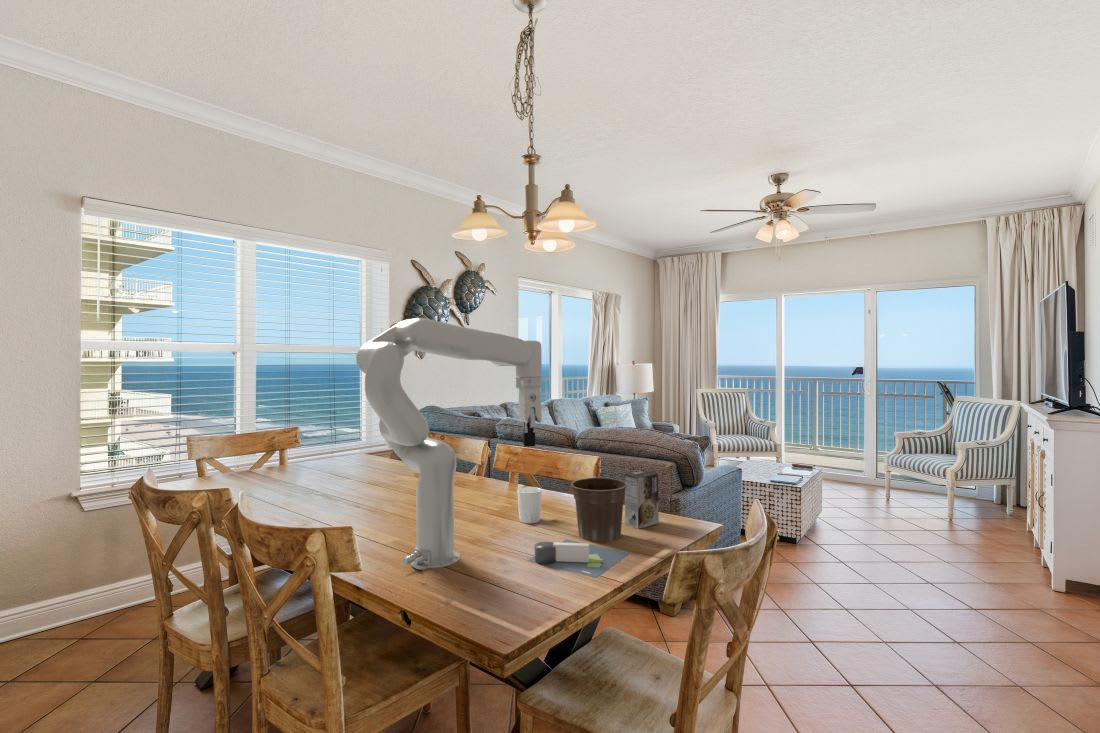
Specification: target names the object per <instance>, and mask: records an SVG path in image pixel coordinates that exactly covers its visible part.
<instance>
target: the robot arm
mask: <svg viewBox="0 0 1100 733" xmlns="http://www.w3.org/2000/svg"><path fill="white" fill-rule="evenodd" d="M542 351H543V350H542V343H541V342H540V341H538V340H524V339H522V338H518V337H515V336H510V335H506V334H500V333H495V332H490V331H484V330H479V329H476V328H469V327H464V326H460V325H455V324H450V323H446V322H442V321H438V320H434V319H430V318H424V317H415V318H408V319H404V320H402V321H399V322H398V323H396V324H394V325H393V326H391V327H390V328H388V329H387V330H385V331H383V332H382V333H380V334H379V335H377V336H375V337H374V338H372V339H370V340H369V341H367V342H366V343H364V344H362V346H361V347H360V348H359V349H358V350H357V352H356V356H355V357H356V358H355V361H356V365H357V367H358V369H359V370H360V371H361V372H363V373H364V374H365V378H364V392H365V396H366V399H367V402H368V403H369V405H370V406H371V408H372V410H374V412H375V413H376V415H377V416H378V417H379V422H378V423H379V424H378V427H379V431H380V434H381V436H382V438H383V439H384V441H385V442H386V444H387V445H388V446H389V447H390V448H391V449H392V451H393V452H394V453H395V454H396V456H397V457H398V458H399V459H400V460H401V462H402V463H404V465H405V466H406V467H407V468H409V469H410V470H412V471H413V472H416V473H419V474H418V481H417V485H416V489H415V491H416V492H415V506H416V507H415V508H416V509H415V510H416V511H415V512H416V513H415V515H416V516H415V518H416V523H415V524H416V546H415V547H413V552H412V553H411V554H410V555H406V556H404V557H402V560H401V561H402V564H403V566H407V565H411V566H412V567H413V568H414V569H416V570H419V571H425V570H427V569H431V568H432V569H435V568H443V567H448V566H450V565H454V564H455V563H456V562H458V561H459V560H460V559H461V554H460V553H459V552H458V551H455V526H454V525H455V516H454V515H455V511H454V510H455V507H454V506H455V504H454V503H455V501H454V498H455V497H454V496H455V494H454V493H455V492H454V487H455V477H456V470H457V465H458V464H457V463H458V462H457V460H458V459H457V455H456V451H455V450H454V449H453V448H452V446H451V445H450V444H448V443H447V442H445V441H443V440H439V439H435V438H430V437H429V434H430V426H429V423H428V421H427V419H426V416H424V414H422V412H421V411H420V410H419V408H418V407H417V406H416V405H415V404H414V402H413V400H411V398H410V397H409V396H408V394H407V393H406V391H405V389H404V388H403V386H402V383H401V375H402V370H403V368H404V363H405V357H406V356H408V355H409V354H410V353H411V352H422V353H427V354H433V355H438V356H444V357H448V358H453V359H459V360H467V361H487V362H490V363H492V364H493V365H495V366H499V367H515V389H518V390H519V391H518V416H519V418H518V419H520V420H521V421H522V429H523V432H522V436H523V437H522V441H523V442H522V445H523V446H524V447H536V422H537V423H541V422H542V400H541V398H542V397H541V390H540V389H542V388H543V384H542V383H543V377H542V375H543V373H542V372H543V371H542V369H543V366H542V365H543V364H542V362H543V361H542V356H543V355H542Z"/></svg>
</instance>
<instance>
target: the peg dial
mask: <svg viewBox="0 0 1100 733" xmlns="http://www.w3.org/2000/svg"><path fill="white" fill-rule="evenodd" d="M589 544H590V543H589V542H585V543H584V542H581V543H563V542H562V541H559V542H558V541H557V542H556V541H555V542H552V541H541V542H539V541H538V542H536V543H535V544H534V557H535V561H536V562H538V563H543V564H548V563H553V562H555V561H565V562H589V561H591V562H603V559H591V558H589ZM538 563H537V564H538Z"/></svg>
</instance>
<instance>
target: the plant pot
mask: <svg viewBox="0 0 1100 733" xmlns="http://www.w3.org/2000/svg"><path fill="white" fill-rule="evenodd" d="M570 484H571V485H570V486H571V487H572V491H573V498H574V500H575V509H576V517H577V518H576V520H577V529H578V530H577V531H578V536H579V537H580V538H581V539H582V540H584V541H588V542H592V543H609V542H610V543H611V542H614V541H617V540H619V539H620V538H621V536H622V526H623V524H622V522H623V511H624V500H625V488H626V487H627V483H626V482H625V480H621V479H617V478H610V477H588V478H581V479H580V478H579V479H576V480H574V481H572V482H571V483H570Z"/></svg>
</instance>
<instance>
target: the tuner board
mask: <svg viewBox="0 0 1100 733" xmlns="http://www.w3.org/2000/svg"><path fill="white" fill-rule="evenodd" d="M561 542H563V543H582V541H581V542H580V541H576V540H571V539H567V538H566V539H564V540H562V541H561ZM630 554H631V552H628V551H623V550H618V549H613V548H608V547H605V546H604V547H603V546H599V545H595V544H590V543H589V558H591V559H603V562H591V561H589V562H565V561H555V562H553V563H548V564H543V563H538V562H536V561H535V556H533V557H531V558H529V559H528V560H527V562H531V563H535V564H539V565H543V566H547V567H552V568H554V569H559V570H562V571H567V572H571V573H574V574H579V575H583V576H587V577H589V578H590V577H591V578H595V579H598V577H600V576H601V575H603V574H604V573H605V572H607V571H608V570H609V569H611V568H613V567H614V566H615V565H616V564H618V563H619V562H621V561H622V560H623V559H625V558H626V557H628V556H629V555H630Z"/></svg>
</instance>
